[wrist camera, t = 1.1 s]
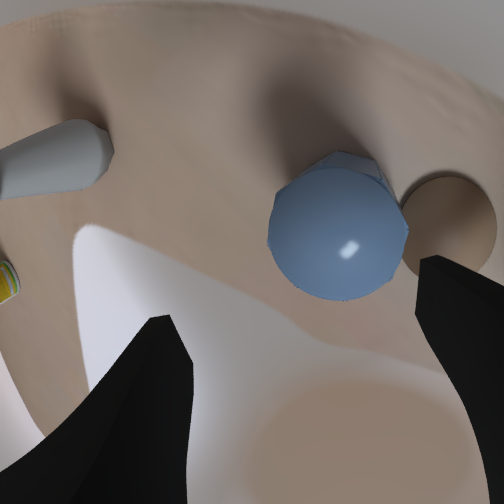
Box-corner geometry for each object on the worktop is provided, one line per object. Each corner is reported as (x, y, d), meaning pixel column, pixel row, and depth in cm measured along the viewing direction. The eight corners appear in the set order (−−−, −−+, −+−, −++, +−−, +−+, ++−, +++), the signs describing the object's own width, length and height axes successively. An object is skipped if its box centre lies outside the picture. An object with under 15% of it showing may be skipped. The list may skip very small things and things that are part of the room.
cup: (401, 168, 17) (422, 191, 11) (377, 255, 20) (379, 314, 14) (308, 143, 18) (281, 153, 12) (291, 231, 21) (258, 279, 15)
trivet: (507, 197, 15) (510, 198, 15) (471, 292, 18) (472, 295, 18) (413, 161, 17) (414, 162, 16) (382, 265, 20) (383, 268, 19)
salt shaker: (67, 142, 25) (-57, 177, 13) (101, 102, 22) (-43, 122, 11) (93, 195, 26) (-32, 250, 14) (132, 160, 23) (-17, 208, 12)
